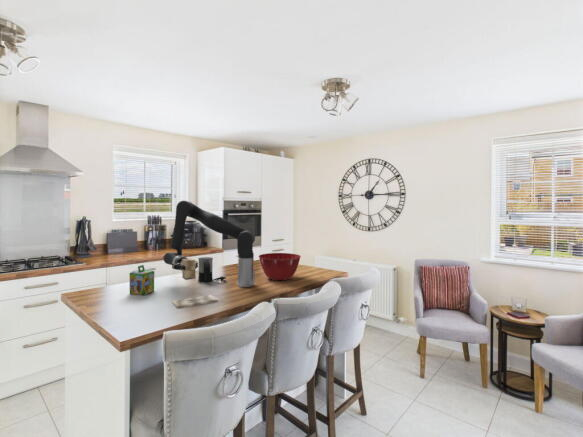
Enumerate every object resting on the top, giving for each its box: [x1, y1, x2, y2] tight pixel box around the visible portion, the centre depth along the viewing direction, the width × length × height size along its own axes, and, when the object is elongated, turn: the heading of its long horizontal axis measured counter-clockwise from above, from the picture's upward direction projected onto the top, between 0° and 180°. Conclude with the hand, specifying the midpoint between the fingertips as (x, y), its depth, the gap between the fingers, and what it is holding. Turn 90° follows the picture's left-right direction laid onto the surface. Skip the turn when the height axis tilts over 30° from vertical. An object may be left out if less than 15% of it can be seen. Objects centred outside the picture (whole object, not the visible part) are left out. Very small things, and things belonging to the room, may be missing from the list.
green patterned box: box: [129, 264, 155, 296], centre depth 167 cm, size 9×9×15 cm
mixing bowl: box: [258, 252, 302, 281], centre depth 208 cm, size 28×28×15 cm
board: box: [171, 294, 219, 309], centre depth 154 cm, size 20×9×1 cm, turn 126°
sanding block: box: [181, 258, 196, 281], centre depth 163 cm, size 5×6×10 cm
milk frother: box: [197, 256, 227, 284], centre depth 196 cm, size 14×16×15 cm
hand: (190, 267), depth 160 cm, fingers closed on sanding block, 5 cm apart
